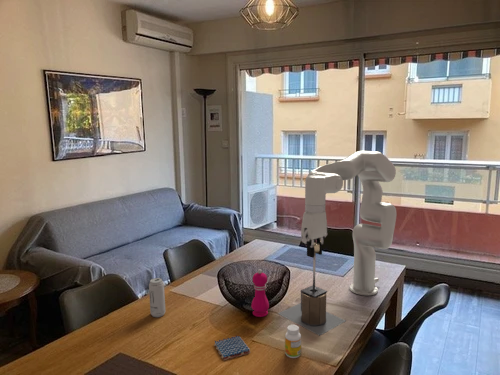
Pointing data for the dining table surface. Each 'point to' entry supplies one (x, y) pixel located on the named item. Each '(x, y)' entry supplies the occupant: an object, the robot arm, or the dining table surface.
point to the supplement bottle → (293, 341)
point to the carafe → (313, 306)
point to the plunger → (316, 250)
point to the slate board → (295, 316)
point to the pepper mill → (260, 295)
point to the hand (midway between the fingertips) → (314, 254)
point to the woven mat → (232, 347)
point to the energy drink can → (157, 297)
